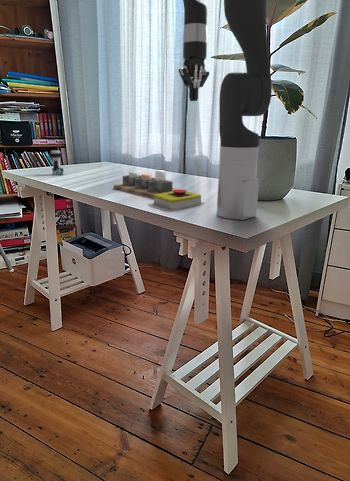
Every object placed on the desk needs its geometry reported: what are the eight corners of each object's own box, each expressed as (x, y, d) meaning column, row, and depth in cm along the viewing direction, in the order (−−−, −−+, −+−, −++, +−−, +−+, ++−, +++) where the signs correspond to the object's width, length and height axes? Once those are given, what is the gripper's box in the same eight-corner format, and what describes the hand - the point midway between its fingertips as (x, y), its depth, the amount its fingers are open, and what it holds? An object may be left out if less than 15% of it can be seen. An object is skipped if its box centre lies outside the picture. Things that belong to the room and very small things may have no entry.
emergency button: (206, 190, 98) (165, 197, 89) (206, 205, 100) (165, 213, 91) (185, 185, 105) (145, 191, 96) (185, 199, 107) (146, 206, 98)
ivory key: (167, 183, 110) (167, 171, 109) (160, 184, 108) (159, 172, 107) (160, 182, 112) (160, 169, 111) (152, 183, 110) (152, 170, 109)
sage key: (140, 183, 120) (140, 172, 119) (133, 184, 118) (132, 173, 117) (134, 182, 122) (134, 171, 121) (127, 183, 120) (126, 172, 119)
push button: (69, 174, 147) (66, 150, 144) (59, 176, 143) (56, 151, 140) (58, 173, 151) (56, 150, 147) (48, 174, 146) (46, 150, 143)
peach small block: (153, 186, 116) (153, 174, 114) (146, 187, 113) (145, 175, 112) (147, 185, 118) (147, 173, 116) (139, 186, 116) (139, 174, 114)
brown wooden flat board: (181, 193, 113) (182, 180, 111) (154, 198, 105) (154, 185, 103) (140, 184, 127) (139, 173, 126) (113, 188, 119) (112, 176, 118)
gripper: (189, 37, 101) (188, 99, 107) (217, 43, 110) (214, 101, 116) (172, 40, 106) (171, 100, 112) (200, 47, 115) (198, 102, 121)
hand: (193, 100), depth 114 cm, fingers closed
